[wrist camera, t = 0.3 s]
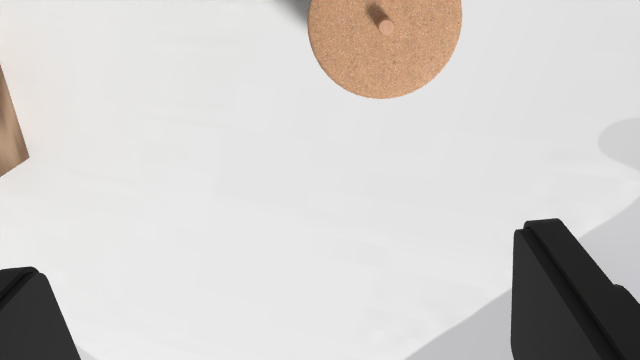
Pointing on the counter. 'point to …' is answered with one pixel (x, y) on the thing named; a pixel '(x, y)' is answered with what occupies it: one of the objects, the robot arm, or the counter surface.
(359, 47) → the lidded jar
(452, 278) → the counter surface
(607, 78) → the counter surface
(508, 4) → the counter surface
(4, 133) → the open walnut box
